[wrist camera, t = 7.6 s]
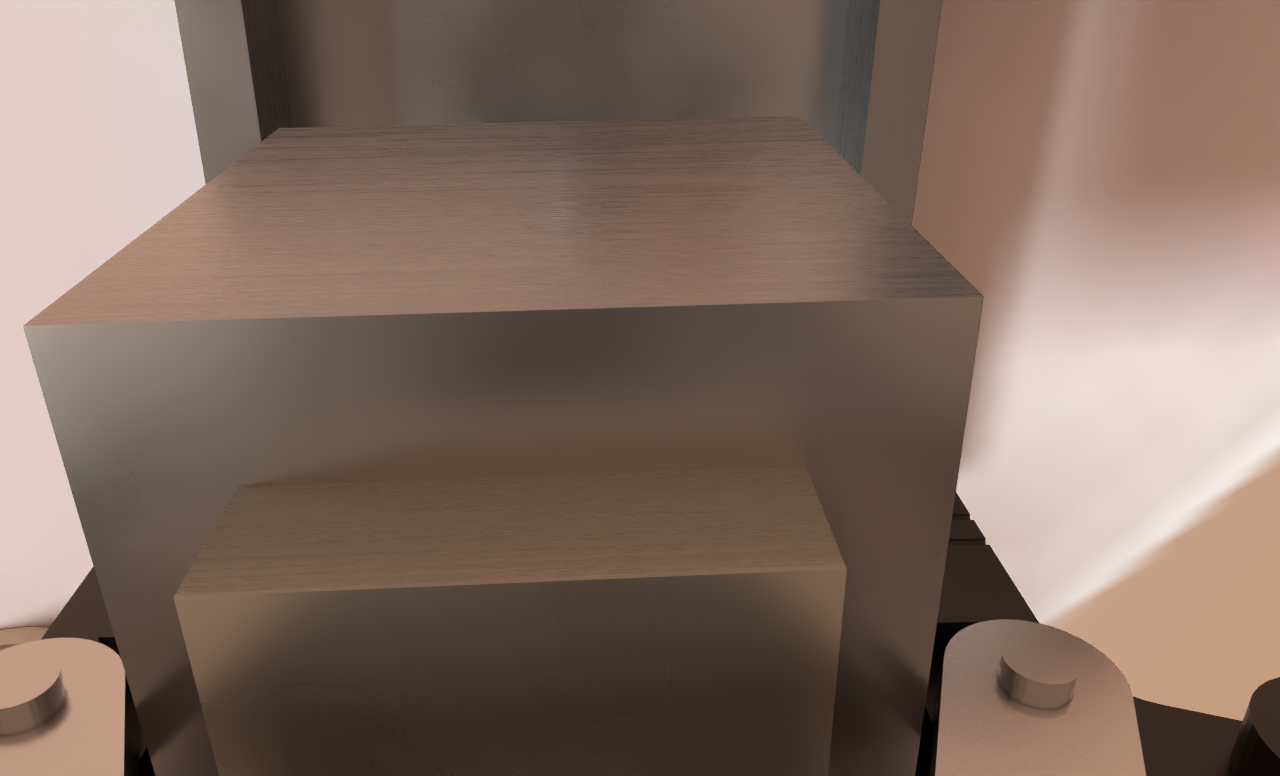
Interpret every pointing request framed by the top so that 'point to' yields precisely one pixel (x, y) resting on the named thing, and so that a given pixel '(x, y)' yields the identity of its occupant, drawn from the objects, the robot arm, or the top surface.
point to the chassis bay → (567, 68)
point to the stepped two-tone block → (521, 454)
